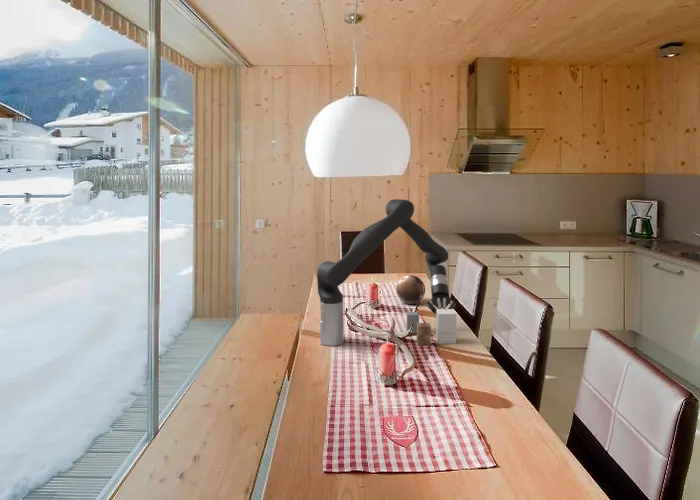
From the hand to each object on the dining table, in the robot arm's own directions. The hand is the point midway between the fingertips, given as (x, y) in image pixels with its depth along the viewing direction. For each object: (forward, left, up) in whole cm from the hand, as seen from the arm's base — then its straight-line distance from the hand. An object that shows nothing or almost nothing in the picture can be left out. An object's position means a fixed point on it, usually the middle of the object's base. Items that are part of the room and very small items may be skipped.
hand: (443, 322), depth 223 cm
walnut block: (-9, -11, -6) cm, 15 cm away
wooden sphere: (-9, +54, -6) cm, 55 cm away
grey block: (-12, +6, -6) cm, 15 cm away
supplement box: (0, -8, -6) cm, 10 cm away
